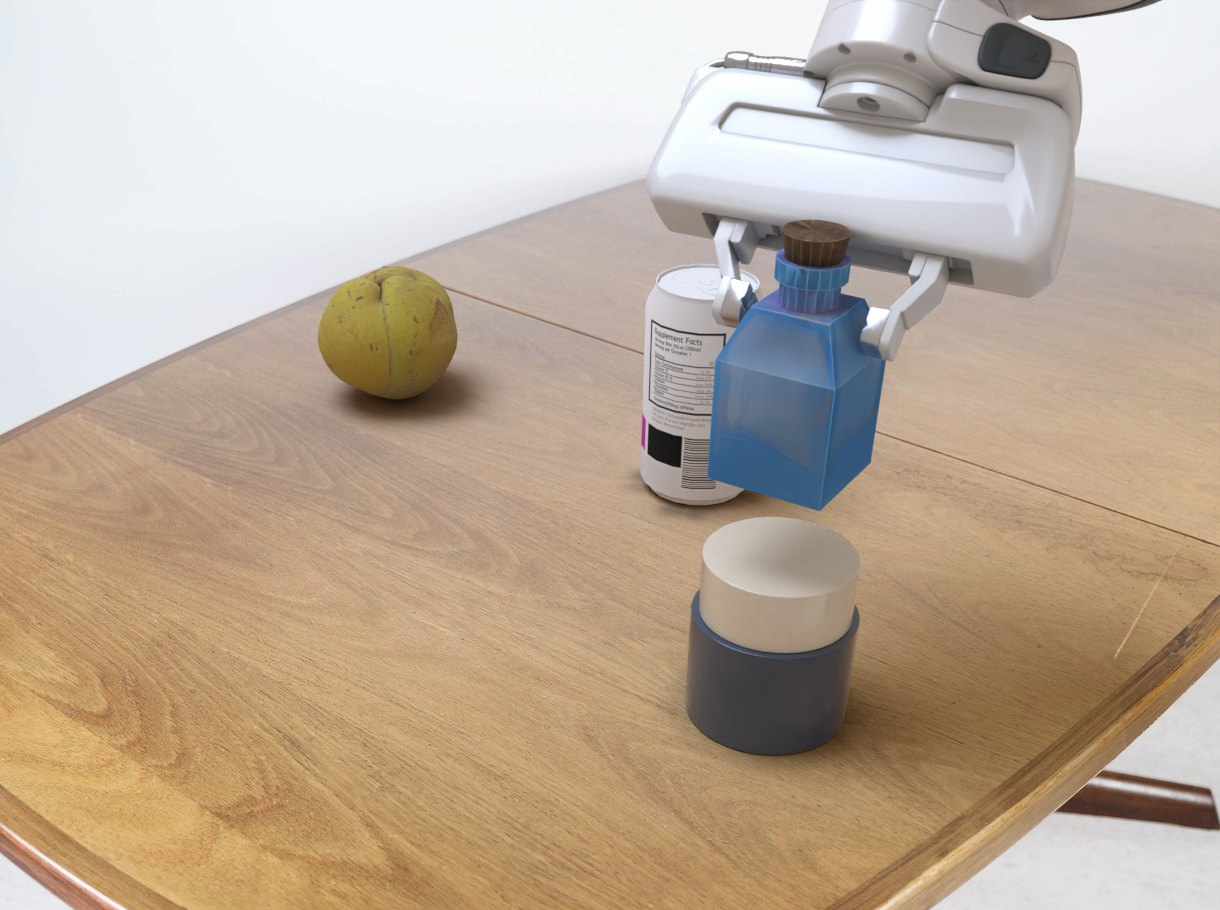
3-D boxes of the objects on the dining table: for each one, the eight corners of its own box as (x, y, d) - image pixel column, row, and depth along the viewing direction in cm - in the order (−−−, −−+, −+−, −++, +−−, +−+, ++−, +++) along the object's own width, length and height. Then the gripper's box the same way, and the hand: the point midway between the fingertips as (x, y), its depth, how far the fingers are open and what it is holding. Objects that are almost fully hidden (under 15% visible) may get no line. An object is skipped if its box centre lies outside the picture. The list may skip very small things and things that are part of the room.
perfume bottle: (870, 462, 69) (906, 225, 61) (819, 511, 64) (851, 262, 57) (763, 433, 71) (785, 201, 64) (707, 477, 67) (724, 235, 60)
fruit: (493, 395, 110) (488, 275, 104) (375, 436, 104) (363, 310, 98) (413, 355, 117) (404, 240, 111) (298, 391, 110) (282, 270, 104)
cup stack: (852, 672, 79) (875, 524, 73) (836, 767, 72) (860, 612, 66) (701, 650, 81) (711, 503, 75) (670, 740, 74) (679, 586, 68)
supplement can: (624, 467, 100) (628, 268, 91) (723, 451, 103) (738, 255, 94) (665, 517, 94) (674, 309, 85) (770, 498, 97) (790, 294, 87)
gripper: (686, 5, 65) (586, 265, 64) (1114, 55, 57) (1008, 351, 56) (718, 87, 71) (627, 325, 70) (1111, 142, 63) (1014, 411, 62)
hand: (800, 337), depth 63 cm, fingers closed on perfume bottle, 6 cm apart
